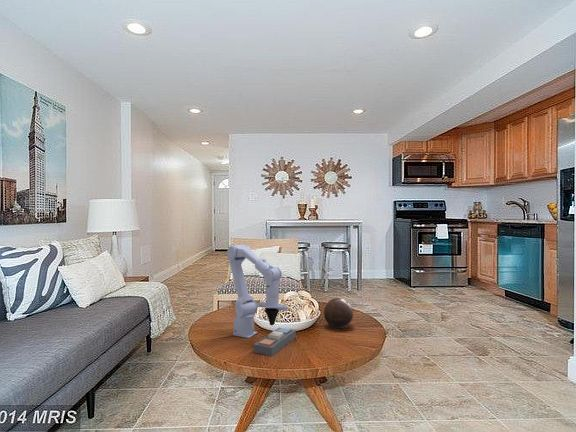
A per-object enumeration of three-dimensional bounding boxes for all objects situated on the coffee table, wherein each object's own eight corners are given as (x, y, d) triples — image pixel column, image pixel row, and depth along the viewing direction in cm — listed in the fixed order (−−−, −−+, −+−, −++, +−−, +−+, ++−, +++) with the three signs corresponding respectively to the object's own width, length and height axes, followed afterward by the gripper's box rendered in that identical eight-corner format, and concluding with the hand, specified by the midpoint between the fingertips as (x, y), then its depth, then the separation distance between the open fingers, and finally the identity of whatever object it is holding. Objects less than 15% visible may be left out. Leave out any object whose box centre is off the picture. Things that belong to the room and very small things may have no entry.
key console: (253, 352, 148) (253, 344, 148) (279, 334, 169) (279, 327, 169) (271, 356, 144) (271, 347, 144) (295, 337, 165) (295, 330, 165)
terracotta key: (259, 348, 148) (259, 342, 148) (265, 344, 153) (265, 338, 152) (269, 350, 146) (269, 344, 146) (275, 346, 150) (275, 340, 150)
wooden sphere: (355, 332, 172) (355, 302, 172) (325, 332, 173) (325, 302, 172) (350, 322, 187) (350, 295, 187) (322, 322, 188) (322, 295, 187)
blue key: (276, 336, 162) (276, 330, 162) (281, 332, 167) (281, 327, 167) (286, 338, 160) (286, 332, 160) (291, 334, 165) (291, 329, 165)
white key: (268, 340, 155) (268, 334, 155) (273, 336, 160) (273, 331, 160) (278, 341, 153) (278, 336, 153) (283, 338, 158) (283, 332, 157)
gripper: (254, 294, 157) (253, 324, 157) (282, 298, 150) (282, 329, 151) (262, 291, 163) (262, 320, 163) (289, 295, 157) (289, 325, 157)
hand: (272, 324), depth 157 cm, fingers closed
